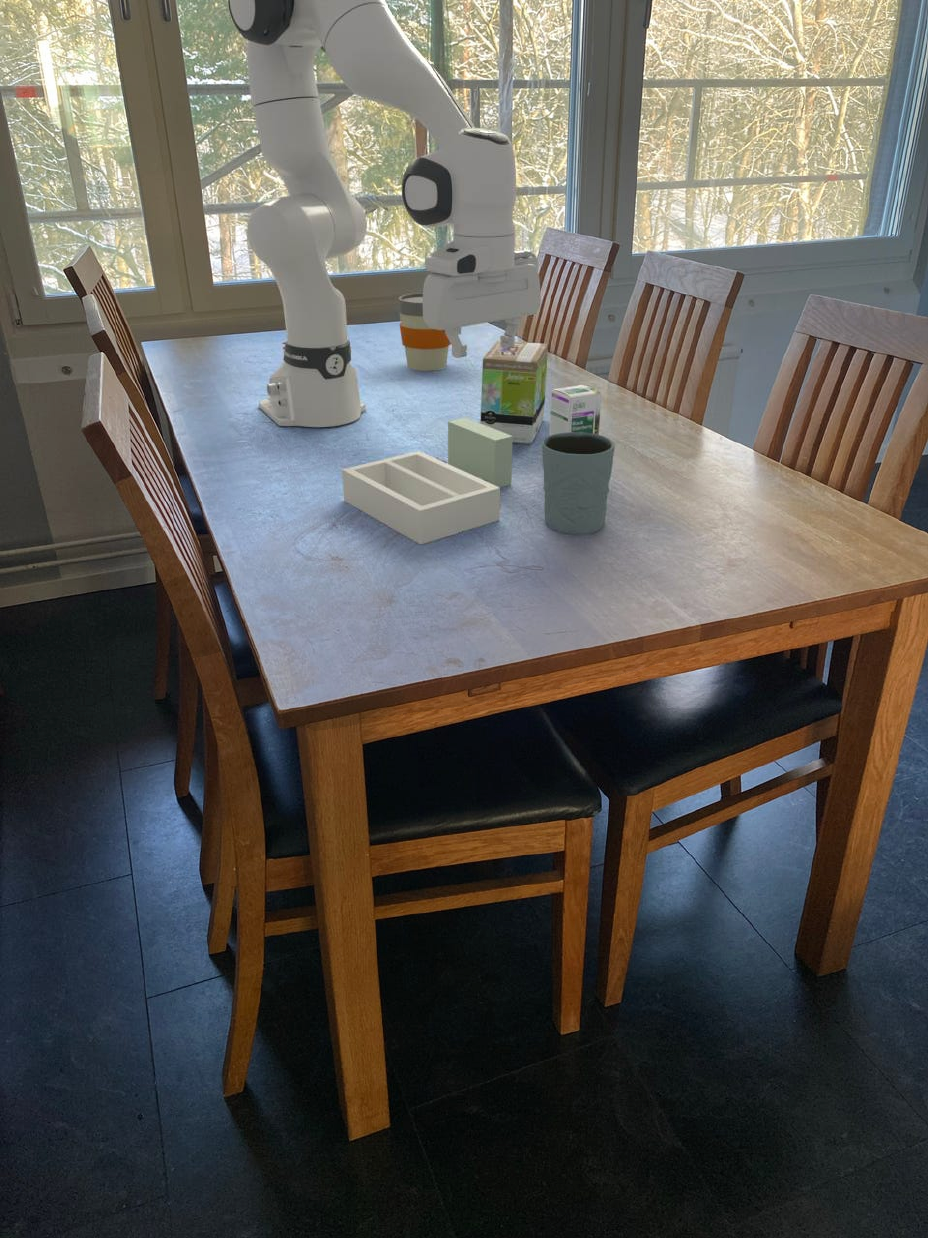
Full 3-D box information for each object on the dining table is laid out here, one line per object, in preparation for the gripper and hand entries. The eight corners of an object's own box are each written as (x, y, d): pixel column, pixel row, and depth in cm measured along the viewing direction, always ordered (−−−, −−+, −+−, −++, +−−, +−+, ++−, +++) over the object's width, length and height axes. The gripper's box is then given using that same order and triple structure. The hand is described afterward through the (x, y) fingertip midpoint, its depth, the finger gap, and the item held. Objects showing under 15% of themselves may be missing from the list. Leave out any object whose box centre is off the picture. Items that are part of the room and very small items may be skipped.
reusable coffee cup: (464, 363, 214) (465, 296, 206) (434, 375, 204) (433, 305, 197) (420, 356, 220) (418, 290, 212) (388, 367, 210) (386, 299, 203)
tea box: (534, 445, 164) (538, 360, 156) (478, 441, 165) (479, 357, 158) (545, 420, 177) (548, 341, 169) (493, 416, 178) (494, 338, 171)
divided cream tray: (344, 500, 140) (342, 469, 138) (425, 479, 148) (424, 449, 146) (420, 544, 127) (420, 510, 124) (505, 518, 135) (506, 486, 132)
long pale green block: (448, 468, 153) (448, 421, 149) (465, 464, 155) (466, 417, 151) (494, 489, 145) (495, 440, 141) (512, 484, 147) (513, 435, 143)
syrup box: (566, 487, 145) (571, 396, 138) (546, 476, 150) (550, 387, 143) (596, 481, 148) (603, 391, 141) (575, 470, 152) (581, 382, 145)
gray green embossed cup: (589, 542, 127) (596, 459, 122) (525, 526, 132) (528, 445, 126) (619, 518, 135) (626, 438, 129) (557, 504, 140) (561, 426, 134)
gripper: (523, 246, 141) (521, 338, 148) (415, 259, 130) (418, 358, 137) (551, 250, 137) (548, 345, 144) (442, 264, 126) (443, 366, 133)
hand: (483, 351), depth 140 cm, fingers open, 8 cm apart
